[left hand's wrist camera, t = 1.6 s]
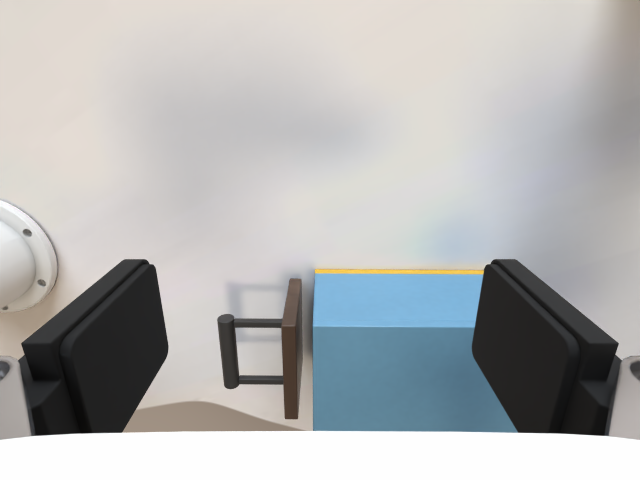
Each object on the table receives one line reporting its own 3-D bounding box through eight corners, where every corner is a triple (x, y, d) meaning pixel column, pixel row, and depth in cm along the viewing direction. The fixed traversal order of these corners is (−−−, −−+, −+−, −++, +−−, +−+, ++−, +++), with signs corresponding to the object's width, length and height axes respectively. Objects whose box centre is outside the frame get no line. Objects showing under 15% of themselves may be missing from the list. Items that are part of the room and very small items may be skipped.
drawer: (237, 357, 43) (217, 418, 35) (230, 277, 40) (206, 325, 31) (447, 359, 43) (477, 421, 35) (459, 279, 39) (495, 327, 31)
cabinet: (315, 357, 44) (312, 433, 34) (315, 269, 40) (312, 325, 30) (477, 358, 44) (522, 435, 34) (493, 270, 40) (549, 327, 30)
